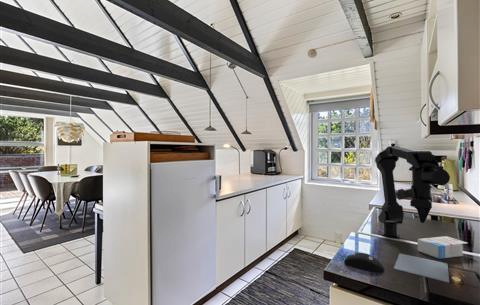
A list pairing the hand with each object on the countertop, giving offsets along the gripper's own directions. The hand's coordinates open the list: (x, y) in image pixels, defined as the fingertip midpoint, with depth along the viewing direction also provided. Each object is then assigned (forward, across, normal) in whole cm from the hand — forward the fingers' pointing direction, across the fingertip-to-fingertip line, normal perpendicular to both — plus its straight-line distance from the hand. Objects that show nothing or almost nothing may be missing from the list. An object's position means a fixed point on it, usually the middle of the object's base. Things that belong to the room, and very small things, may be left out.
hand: (422, 222), depth 92 cm
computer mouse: (+13, +26, -16) cm, 33 cm away
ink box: (+10, 0, +1) cm, 10 cm away
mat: (+12, +14, 0) cm, 19 cm away
